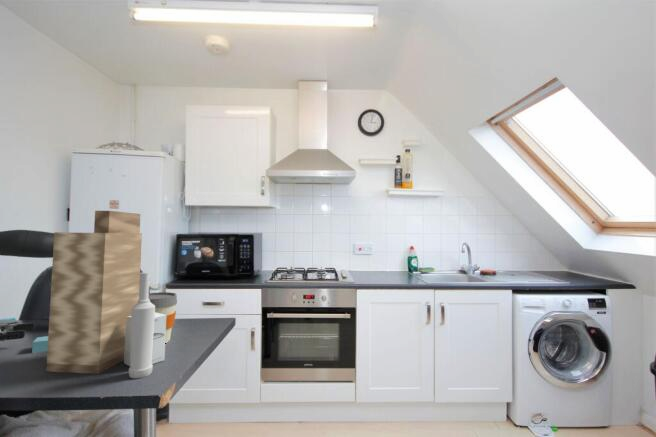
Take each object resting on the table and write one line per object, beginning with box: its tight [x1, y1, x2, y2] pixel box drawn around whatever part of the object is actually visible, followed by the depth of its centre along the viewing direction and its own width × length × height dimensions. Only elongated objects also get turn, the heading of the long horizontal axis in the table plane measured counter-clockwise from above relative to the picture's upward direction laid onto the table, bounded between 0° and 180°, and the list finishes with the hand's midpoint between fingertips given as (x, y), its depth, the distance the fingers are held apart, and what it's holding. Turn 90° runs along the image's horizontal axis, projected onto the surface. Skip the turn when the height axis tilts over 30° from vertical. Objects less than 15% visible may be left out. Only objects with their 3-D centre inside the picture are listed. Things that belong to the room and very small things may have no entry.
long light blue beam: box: [31, 335, 48, 354], centre depth 100 cm, size 22×5×15 cm
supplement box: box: [123, 312, 166, 367], centre depth 87 cm, size 7×7×13 cm
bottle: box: [128, 272, 155, 379], centre depth 80 cm, size 5×5×25 cm
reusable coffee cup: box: [139, 291, 178, 344], centre depth 102 cm, size 13×13×15 cm
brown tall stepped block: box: [45, 210, 143, 375], centre depth 88 cm, size 14×14×41 cm
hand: (29, 330), depth 94 cm, fingers open, 8 cm apart
